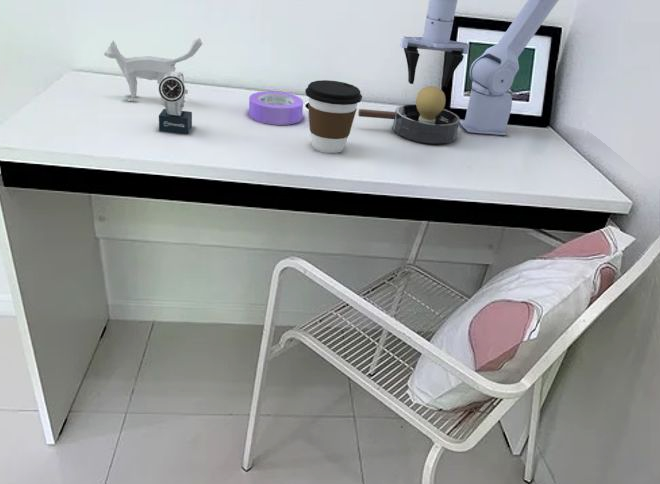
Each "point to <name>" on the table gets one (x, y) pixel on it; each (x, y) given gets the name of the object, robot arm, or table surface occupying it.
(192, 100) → the table surface
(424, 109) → the light bulb
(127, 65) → the cat figurine
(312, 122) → the coffee cup
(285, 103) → the tape roll
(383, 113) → the pan handle
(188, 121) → the watch
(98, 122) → the table surface
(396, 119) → the pan
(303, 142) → the table surface
